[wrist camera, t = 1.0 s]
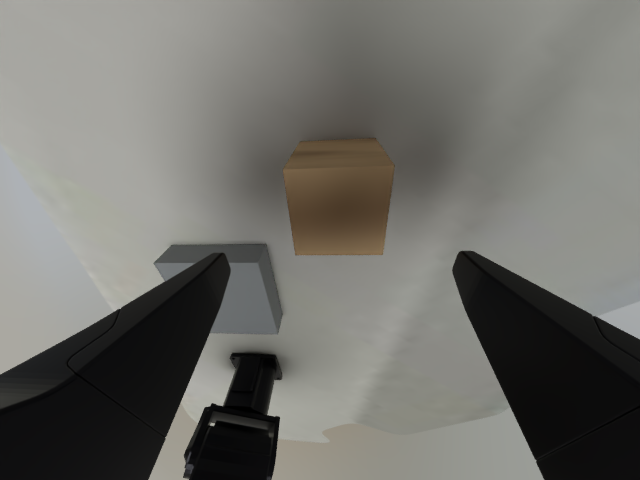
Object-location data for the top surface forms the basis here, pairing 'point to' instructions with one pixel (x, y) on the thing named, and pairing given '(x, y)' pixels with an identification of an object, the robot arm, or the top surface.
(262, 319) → the slate slab
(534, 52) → the top surface
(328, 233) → the teak block
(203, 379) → the top surface
